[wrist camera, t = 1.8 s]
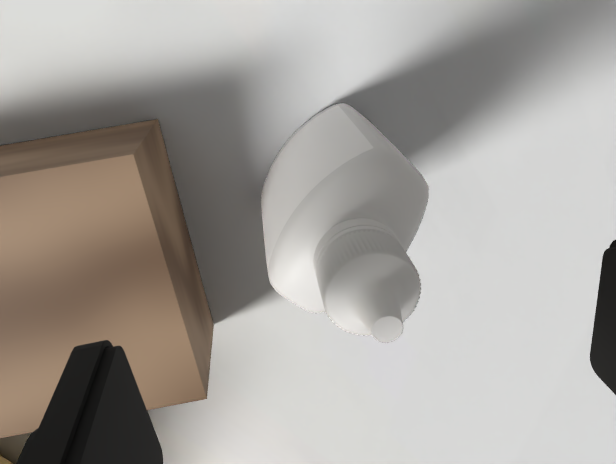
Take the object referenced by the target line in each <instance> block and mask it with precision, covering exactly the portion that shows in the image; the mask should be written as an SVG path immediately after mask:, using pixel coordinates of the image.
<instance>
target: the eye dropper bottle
mask: <svg viewBox="0 0 616 464" xmlns="http://www.w3.org/2000/svg"><path fill="white" fill-rule="evenodd" d="M427 202H428V185H427V183H426V181H425V179H424V178H423V176H422V174H421V173H420V172H419V171H418V170H417V169H416V168H415V167H414V166H413V164H412V163H411V162H410V161H409V160H408V159H407V158H406V157H405V156H404V155H403V154H402V153H401V152H400V151H399V150H398V149H397V148H396V147H395V146H394V145H393V144H392V143H391V142H390V141H389V140H388V139H387V138H386V137H385V136H384V135H383V134H382V133H381V132H380V131H379V130H378V129H377V128H376V127H375V126H374V125H373V124H372V123H371V122H370V121H368V120H367V119H366V118H365V117H364V116H363V115H361V114H360V113H359V112H358V111H357V110H355V109H354V108H353V107H351V106H350V105H347V104H345V103H341V104H335V105H333V106H331V107H328V108H327V109H325V110H323V111H321V112H320V113H318V114H317V115H315V116H314V117H312V118H311V119H310V120H308V121H307V122H306V123H304V124H303V125H302V126H301V127H300V128H299V129H298V130H297V131H296V132H295V133H294V134H293V135H292V136H291V137H290V138H289V139H288V140H287V142H286V143H285V144H284V145H283V147H282V148H281V150H280V151H279V153H278V154H277V156H276V158H275V159H274V161H273V163H272V165H271V167H270V169H269V172H268V174H267V177H266V180H265V182H264V186H263V189H262V194H261V208H262V220H263V232H264V243H265V254H266V262H267V269H268V277H269V281H270V284H271V285H272V286H273V288H274V289H275V290H276V291H277V293H279V294H280V295H281V296H283V297H284V298H286V299H287V300H289V301H290V302H292V303H293V304H295V305H297V306H298V307H300V308H302V309H304V310H306V311H308V312H312V313H323V312H326V313H327V314H328V317H329V318H330V319H331V321H333V323H334V324H336V325H337V327H340V328H341V329H343V330H345V331H346V332H349V333H353V334H358V335H363V336H365V335H367V336H370V335H372V336H373V337H374V338H375V339H376V340H377V341H379V342H382V343H388V342H392V341H394V340H396V339H397V338H399V336H400V335H401V334H402V331H403V322H404V321H405V320H406V319H407V318H408V317H409V316H410V315H411V314H412V312H413V311H414V309H415V307H416V304H417V303H418V300H419V298H420V296H419V295H420V294H421V292H420V290H421V287H420V286H421V283H420V278H419V274H418V273H417V270H416V268H415V266H414V265H413V263H412V261H411V260H410V258H409V257H408V255H407V254H406V251H407V250H408V248H409V246H410V244H411V242H412V241H413V239H414V237H415V235H416V233H417V231H418V228H419V226H420V223H421V221H422V218H423V215H424V212H425V209H426V206H427Z"/></svg>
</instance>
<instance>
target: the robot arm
mask: <svg viewBox="0 0 616 464" xmlns="http://www.w3.org/2000/svg"><path fill="white" fill-rule="evenodd" d="M590 361H591V365H592V368H593V370H594V371H595V373H596V374H597V375H598V377H599V378H600V379H601V380H602V381H603V382H604V383H605V384H606V385H607V386H608V387H609V388H610V389H611V390H612V391H613V392H614V394H615V395H616V240H614V241H613V242H612V243H611V245H610V248H608V249H607V250H606V251H605V252H604V254H603V260H602V267H601V275H600V283H599V290H598V298H597V306H596V313H595V321H594V329H593V336H592V344H591V352H590ZM16 464H163V455H162V449H161V446H160V443H159V441H158V438H157V435H156V433H155V430H154V428H153V425H152V422H151V420H150V417H149V414H148V412H147V409H146V407H145V404H144V401H143V399H142V396H141V393H140V391H139V388H138V386H137V383H136V380H135V378H134V375H133V373H132V370H131V367H130V365H129V362H128V359H127V357H126V354H125V352H124V350H123V348H122V347H121V346H114V347H113V345H112V343H111V342H110V341H108V340H104V341H99V342H94V343H89V344H83V345H78V346H76V347H74V349H73V350H72V352H71V354H70V357H69V359H68V361H67V364H66V366H65V368H64V370H63V373H62V375H61V377H60V380H59V382H58V384H57V387H56V389H55V391H54V393H53V396H52V398H51V400H50V403H49V405H48V407H47V410H46V412H45V414H44V417H43V419H42V421H41V423H40V426H39V428H38V429H36V430H35V431H33V432H32V433H31V435H30V436H29V438H28V439H27V441H26V443H25V446H24V448H23V450H22V452H21V455H20V457H19V459H18V461H17V463H16Z"/></svg>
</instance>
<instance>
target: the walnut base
mask: <svg viewBox="0 0 616 464" xmlns="http://www.w3.org/2000/svg"><path fill="white" fill-rule="evenodd" d="M213 327H214V324H213V321H212V317H211V313H210V310H209V306H208V302H207V299H206V295H205V291H204V288H203V284H202V280H201V276H200V273H199V269H198V265H197V262H196V258H195V254H194V251H193V247H192V243H191V240H190V236H189V232H188V229H187V225H186V221H185V217H184V214H183V210H182V206H181V203H180V199H179V195H178V192H177V188H176V184H175V181H174V177H173V173H172V170H171V166H170V162H169V159H168V155H167V151H166V147H165V144H164V140H163V136H162V133H161V129H160V125H159V122H158V119H155V120H149V121H143V122H137V123H132V124H126V125H120V126H114V127H108V128H102V129H96V130H90V131H84V132H78V133H72V134H66V135H60V136H55V137H49V138H43V139H37V140H31V141H25V142H19V143H13V144H7V145H1V146H0V438H4V437H10V436H15V435H20V434H25V433H31V432H33V431H35V430H36V429H38V428H39V426H40V423H41V421H42V419H43V417H44V414H45V412H46V410H47V407H48V405H49V403H50V400H51V398H52V396H53V393H54V391H55V389H56V387H57V384H58V382H59V380H60V377H61V375H62V373H63V370H64V368H65V366H66V364H67V361H68V359H69V357H70V354H71V352H72V350H73V349H74V347H76V346H78V345H83V344H89V343H94V342H99V341H104V340H108V341H110V342H111V343H112V345H113V347H114V346H121V347H122V348H123V350H124V352H125V354H126V357H127V359H128V362H129V365H130V367H131V370H132V373H133V375H134V378H135V380H136V383H137V386H138V388H139V391H140V393H141V396H142V399H143V401H144V404H145V407H146V409H147V410H150V409H156V408H161V407H166V406H171V405H177V404H182V403H187V402H192V401H197V400H203V399H207V391H208V381H209V370H210V359H211V348H212V337H213Z"/></svg>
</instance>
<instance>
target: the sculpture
mask: <svg viewBox="0 0 616 464" xmlns="http://www.w3.org/2000/svg"><path fill="white" fill-rule="evenodd" d="M0 464H13V463H11V462H10V461H8V460H7V459H5V458H4V457H2V456H0Z"/></svg>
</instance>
